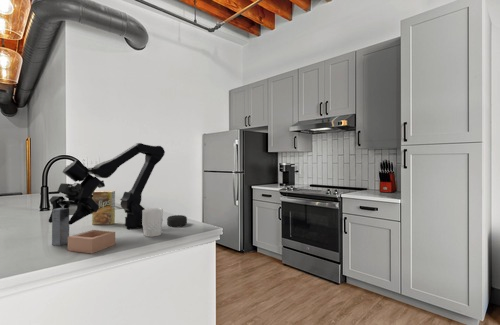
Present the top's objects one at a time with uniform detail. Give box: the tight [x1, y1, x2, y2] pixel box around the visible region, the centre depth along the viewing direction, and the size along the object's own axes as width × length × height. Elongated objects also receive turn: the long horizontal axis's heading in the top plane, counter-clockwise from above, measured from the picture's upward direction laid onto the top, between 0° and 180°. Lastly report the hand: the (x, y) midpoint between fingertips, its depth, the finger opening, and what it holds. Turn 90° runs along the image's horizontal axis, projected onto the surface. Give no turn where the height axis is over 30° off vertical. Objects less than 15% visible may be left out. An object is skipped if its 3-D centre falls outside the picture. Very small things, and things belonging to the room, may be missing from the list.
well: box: [67, 229, 116, 254], centre depth 96 cm, size 10×10×4 cm
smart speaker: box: [166, 214, 188, 228], centre depth 131 cm, size 9×9×4 cm
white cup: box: [142, 207, 164, 238], centre depth 113 cm, size 8×8×10 cm
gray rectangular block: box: [51, 207, 70, 247], centre depth 100 cm, size 4×4×12 cm
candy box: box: [91, 190, 116, 226], centre depth 132 cm, size 9×4×15 cm, turn 93°
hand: (59, 223), depth 99 cm, fingers open, 9 cm apart
